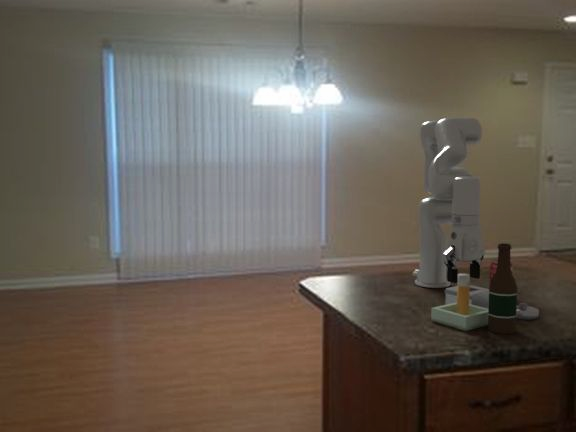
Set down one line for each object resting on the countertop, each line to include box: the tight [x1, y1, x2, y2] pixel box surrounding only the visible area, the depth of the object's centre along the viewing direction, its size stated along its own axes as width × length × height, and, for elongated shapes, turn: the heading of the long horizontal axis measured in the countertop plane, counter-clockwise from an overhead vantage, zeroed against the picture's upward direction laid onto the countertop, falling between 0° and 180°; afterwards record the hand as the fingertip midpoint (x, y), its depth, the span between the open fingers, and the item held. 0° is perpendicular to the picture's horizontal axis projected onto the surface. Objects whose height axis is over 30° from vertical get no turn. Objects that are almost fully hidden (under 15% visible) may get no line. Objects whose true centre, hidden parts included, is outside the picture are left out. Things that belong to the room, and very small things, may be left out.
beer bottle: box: [487, 242, 518, 335], centre depth 175 cm, size 8×8×24 cm
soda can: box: [489, 259, 514, 282], centre depth 209 cm, size 7×7×13 cm
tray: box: [430, 302, 488, 332], centre depth 185 cm, size 12×12×4 cm
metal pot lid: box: [516, 302, 540, 321], centre depth 192 cm, size 9×9×4 cm
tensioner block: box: [444, 284, 489, 309], centre depth 200 cm, size 10×11×6 cm
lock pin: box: [456, 273, 471, 315], centre depth 184 cm, size 3×3×13 cm
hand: (463, 280), depth 184 cm, fingers open, 9 cm apart
